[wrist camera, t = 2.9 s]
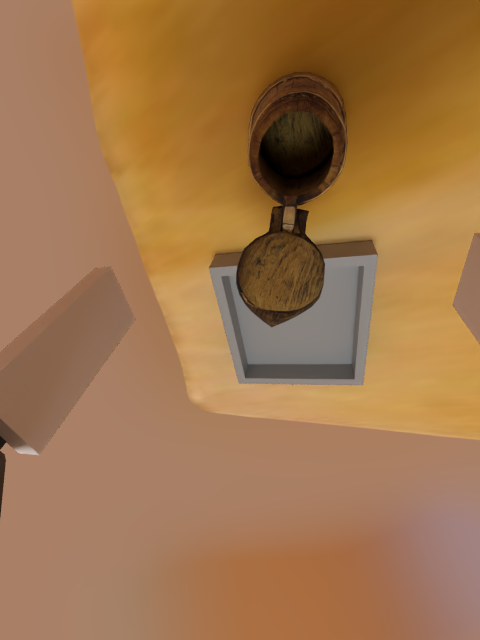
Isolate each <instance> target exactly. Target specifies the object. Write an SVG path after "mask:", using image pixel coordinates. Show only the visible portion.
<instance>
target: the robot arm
mask: <svg viewBox="0 0 480 640" xmlns="http://www.w3.org/2000/svg"><path fill="white" fill-rule="evenodd" d="M453 307H454V308H455V310H456V311H457V312H458V314H459V315H460V317H461V318H462V320H463V321H464V322H465V324H466V325H467V327H468V328H469V330H470V331H471V332H472V334H473V335H474V337H475V338H476V340H477V341H478V342H479V344H480V233H474V236H473V239H472V243H471V246H470V249H469V253H468V256H467V259H466V262H465V266H464V269H463V272H462V276H461V279H460V282H459V285H458V289H457V292H456V295H455V298H454V302H453ZM135 320H136V319H135V317H134V314H133V313H132V310H131V308H130V306H129V304H128V302H127V300H126V298H125V296H124V294H123V291H122V289H121V287H120V285H119V283H118V281H117V279H116V276H115V274H114V272H113V270H112V268H111V267H102V268H95V269H94V270H93V271H91V272H90V273H89V274H88V275H87V276H86V277H84V278H83V279H82V280H81V281H80V282H79V283H78V284H77V285H76V286H74V287H73V288H72V289H71V290H70V291H69V292H67V294H65V295H64V296H63V297H62V298H61V299H60V300H58V301H57V302H56V303H55V304H54V305H53V306H52V307H50V308H49V309H48V310H47V311H46V312H45V313H44V314H43V315H41V316H40V317H39V318H38V319H37V320H36V321H35V322H33V323H32V324H31V325H30V326H29V327H28V328H27V329H26V330H25V331H23V332H22V333H21V334H20V335H19V336H18V337H16V338H15V339H14V340H13V341H12V342H11V343H10V344H9V345H7V346H6V347H5V348H4V349H3V350H2V351H1V352H0V449H1V448H2V447H3V445H4V444H5V443H6V442H7V443H8V444H9V445H10V446H11V447H12V448H13V449H15V450H16V451H17V452H18V453H21V454H35V455H40V454H41V452H42V451H43V449H44V448H45V447H46V445H47V444H48V442H49V441H50V439H51V438H52V437H53V435H54V434H55V433H56V431H57V429H58V428H59V427H60V425H61V424H62V423H63V421H64V420H65V418H66V417H67V416H68V414H69V413H70V411H71V410H72V409H73V407H74V406H75V404H76V403H77V401H78V400H79V398H80V397H81V396H82V394H83V393H84V391H85V390H86V389H87V387H88V386H89V384H90V383H91V382H92V380H93V379H94V377H95V376H96V375H97V373H98V372H99V370H100V369H101V367H102V366H103V365H104V363H105V362H106V361H107V359H108V357H109V356H110V355H111V353H112V352H113V351H114V349H115V348H116V346H117V345H118V344H119V342H120V341H121V339H122V338H123V337H124V335H125V334H126V332H127V331H128V329H129V328H130V327H131V325H132V324H133V322H134V321H135ZM5 462H6V459H5V455H4V454H3V453H2V452H1V451H0V513H1V504H2V493H3V483H4V472H5Z"/></svg>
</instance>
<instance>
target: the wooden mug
mask: <svg viewBox="0 0 480 640" xmlns="http://www.w3.org/2000/svg"><path fill="white" fill-rule="evenodd" d="M346 133H347V129H346V114H345V111H344V107H343V99H342V97H341V96H340V94H339V93H338V91H337V89H336V88H335V86H334V85H333V84H331V83H330V82H328V81H327V80H325V79H324V78H322V77H320V76H317V75H315V74H312V73H298V72H296V73H292V74H289V75H286V76H283V77H281V78H279V79H278V80H276V81H275V82H273V83H272V84H270V85H269V86H268V87H267V88H266V89H265V91H264V92H263V93H262V94H261V95H260V97H259V98H258V100H257V102H256V104H255V106H254V108H253V110H252V114H251V119H250V125H249V144H248V162H249V167H250V170H251V173H252V176H253V179H254V181H255V182H256V183H257V184H258V185H259V186H260V188H261V189H262V190H263V191H264V192H265V193H266V194H267V195H268V196H270V197H271V198H272V199H273V200H275V201H277V202H279V203H280V204H282V205H283V206H278V207H273V209H272V213H271V221H270V228H269V231H268V232H267V233H266V234H264V235H262V236H260V237H258V238H256V239H255V240H254V241H253V242H251V243H250V244H249V245H248V246H247V247H246V248H245V249H244V251H243V253H242V255H241V257H240V260H239V263H238V266H237V272H236V285H237V289H238V292H239V295H240V297H241V299H242V300H243V302H244V304H245V305H246V306H247V307H248V308H249V309H250V311H251V312H252V313H254V314H255V315H256V316H257V317H258V318H260V319H261V320H262V321H263V322H265V323H266V324H267V325H269V326H270V327H274V326H277V325H279V324H281V323H284V322H286V321H288V320H290V319H292V318H294V317H296V316H298V315H300V314H302V313H303V312H305V311H306V310H308V309H309V308H311V307H312V306H313V305H314V304H315V303H316V302H317V301H318V299H319V298H320V295H321V292H322V288H323V285H324V274H325V262H324V259H323V256H322V253H321V252H320V250H319V249H318V248H317V246H316V245H315V244H314V243H313V242H312V241H311V240H310V239H309V238H308V237H307V235H306V234H305V230H306V221H307V216H308V212H309V211H306V210H301V209H297V206H298V205H302V204H305V203H307V202H309V201H312V200H313V199H315V198H317V197H319V196H320V195H322V194H323V193H324V192H326V191H327V190H328V189H329V188H330V187H331V186H332V185H333V184H334V183H335V181H336V180H337V178H338V176H339V175H340V173H341V171H342V169H343V166H344V163H345V157H346V150H347V135H346Z"/></svg>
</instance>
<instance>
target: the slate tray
mask: <svg viewBox="0 0 480 640" xmlns="http://www.w3.org/2000/svg"><path fill="white" fill-rule="evenodd" d="M316 246H317V248H318V249H319V250H320V252H321V253H322V256H323V259H324V262H325V274H324V285H323V288H322V292H321V295H320V298H319V299H318V301H317V302H316V303H315V304H314V305H313V306H312V307H311V308H309V309H308V310H306V311H305V312H303V313H302V314H300V315H298V316H296V317H294V318H292V319H290V320H288V321H286V322H284V323H281V324H279V325H277V326H274V327H270V326H269V325H267V324H266V323H265V322H263V321H262V320H261V319H260V318H258V317H257V316H256V315H255V314H254V313H252V312H251V311H250V309H249V308H248V307H247V306H246V305H245V304H244V302H243V300H242V299H241V297H240V295H239V292H238V289H237V285H236V272H237V266H238V263H239V260H240V257H241V255H242V253H243V252H239V253H228V254H217V255H215V257H214V259H213V261H212V263H211V265H210V267H209V270H210V274H211V278H212V282H213V286H214V289H215V293H216V297H217V301H218V305H219V309H220V313H221V316H222V320H223V324H224V328H225V332H226V336H227V340H228V344H229V347H230V351H231V355H232V359H233V363H234V367H235V371H236V374H237V378H238V382H239V383H240V384H309V385H363V382H364V373H365V364H366V355H367V346H368V337H369V328H370V320H371V311H372V302H373V293H374V284H375V275H376V266H377V257H378V254H377V251H376V249H375V247H374V245H373V242H372V240H371V241H360V242H349V243H338V244H327V245H316Z"/></svg>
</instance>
